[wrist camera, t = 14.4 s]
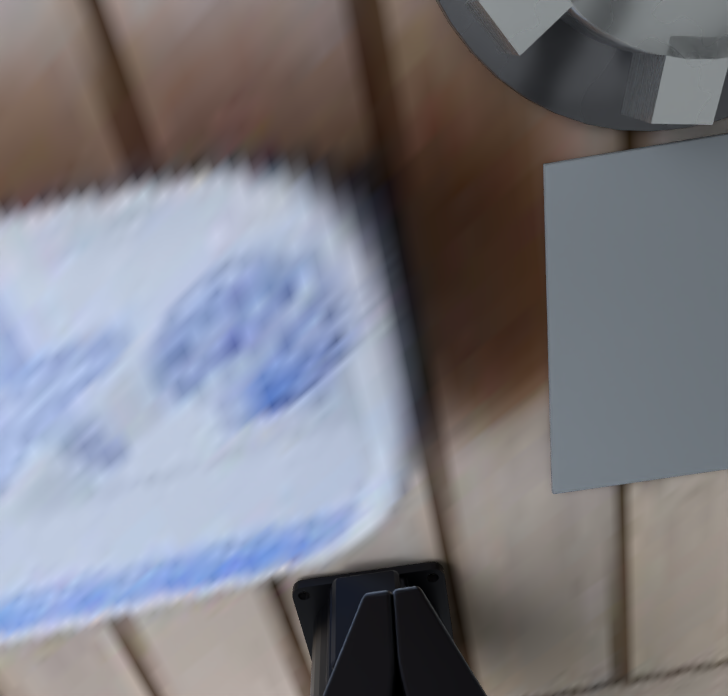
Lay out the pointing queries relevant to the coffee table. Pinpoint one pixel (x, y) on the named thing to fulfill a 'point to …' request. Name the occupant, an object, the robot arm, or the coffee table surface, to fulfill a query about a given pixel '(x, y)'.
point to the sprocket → (633, 47)
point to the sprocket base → (563, 72)
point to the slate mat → (637, 313)
